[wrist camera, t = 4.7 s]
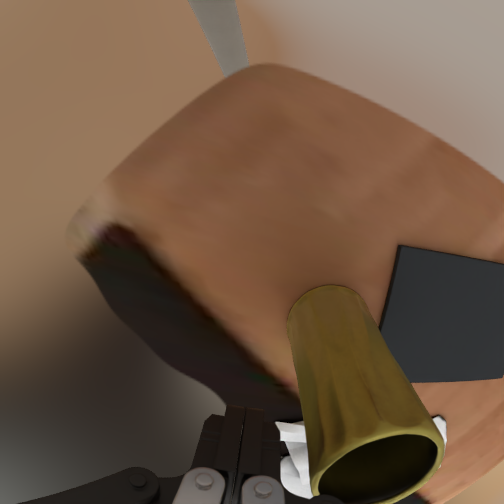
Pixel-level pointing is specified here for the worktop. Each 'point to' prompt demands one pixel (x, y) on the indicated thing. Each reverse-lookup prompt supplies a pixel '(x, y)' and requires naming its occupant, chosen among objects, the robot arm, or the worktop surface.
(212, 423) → the robot arm
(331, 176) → the worktop surface
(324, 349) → the vase
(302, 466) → the cloth
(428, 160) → the worktop surface
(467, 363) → the mat
